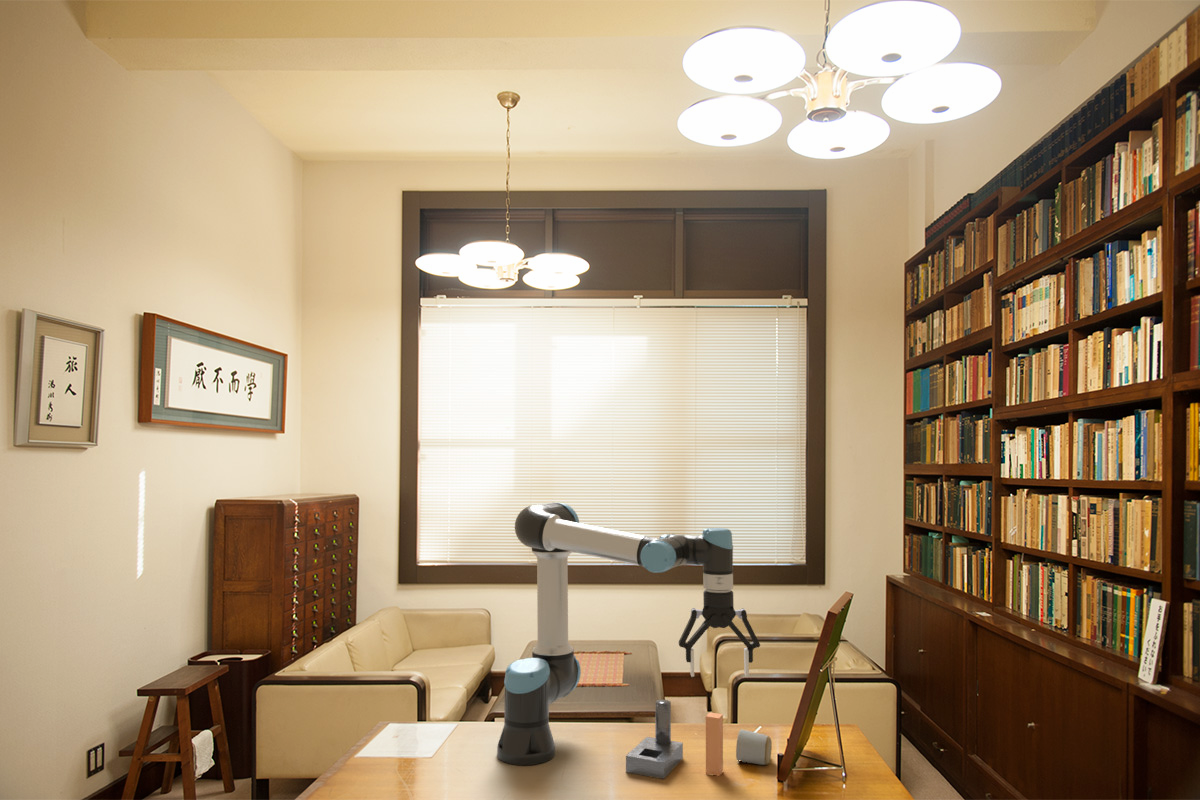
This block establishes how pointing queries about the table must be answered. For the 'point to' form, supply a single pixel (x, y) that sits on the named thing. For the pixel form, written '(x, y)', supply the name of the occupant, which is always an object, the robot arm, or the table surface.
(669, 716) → the grey socket base
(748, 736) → the grey rounded box
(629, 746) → the table surface
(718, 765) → the salmon orange square bar
